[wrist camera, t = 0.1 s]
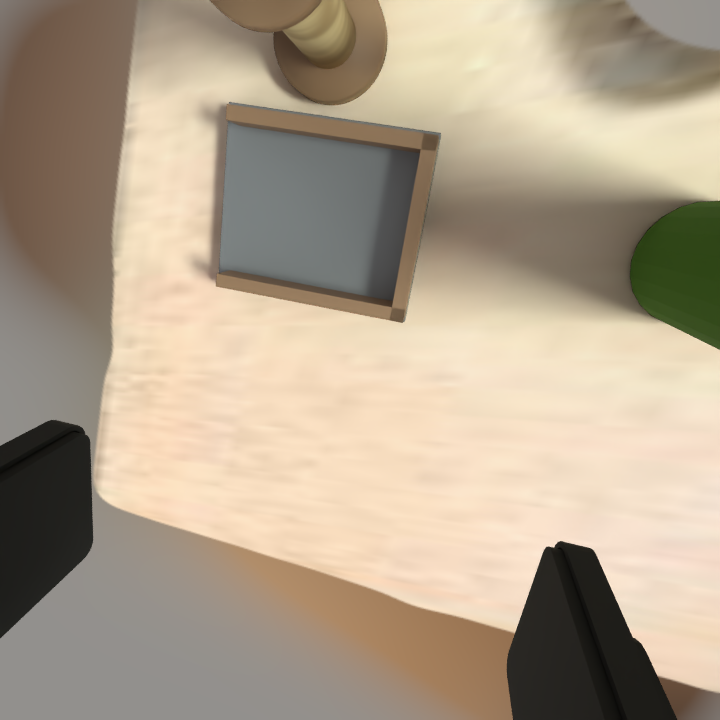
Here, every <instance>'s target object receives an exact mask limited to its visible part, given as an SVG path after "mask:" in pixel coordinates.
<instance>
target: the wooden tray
mask: <svg viewBox="0 0 720 720" xmlns="http://www.w3.org/2000/svg"><path fill="white" fill-rule="evenodd" d="M226 120H228V131H227V147H226V164H225V180H224V197H223V213H222V230H221V246H220V263H219V273H218V274H217V277H216V286H217V287H222V288H227V289H232V290H237V291H242V292H247V293H253V294H258V295H263V296H268V297H273V298H278V299H283V300H288V301H294V302H299V303H304V304H309V305H314V306H319V307H324V308H329V309H334V310H340V311H345V312H350V313H355V314H360V315H365V316H370V317H375V318H381V319H386V320H391V321H396V322H401V323H403V322H404V321H405V318H406V314H407V308H408V303H409V298H410V293H411V288H412V283H413V278H414V272H415V267H416V262H417V257H418V252H419V247H420V241H421V236H422V231H423V226H424V221H425V216H426V210H427V205H428V200H429V195H430V190H431V185H432V179H433V174H434V169H435V164H436V159H437V154H438V148H439V143H440V138H441V133H436V132H429V131H423V130H416V129H409V128H402V127H395V126H389V125H382V124H375V123H368V122H361V121H355V120H348V119H341V118H334V117H327V116H320V115H314V114H307V113H300V112H293V111H286V110H280V109H273V108H266V107H259V106H252V105H246V104H239V103H232V102H229V104H227V108H226Z"/></svg>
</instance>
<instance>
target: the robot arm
mask: <svg viewBox="0 0 720 720" xmlns="http://www.w3.org/2000/svg"><path fill="white" fill-rule="evenodd" d="M92 522H93V521H92V488H91V457H90V439H89V437H88V436H87V435H85V431H84V430H83V428H82V427H80V426H78V425H74V424H69V423H65V422H61V421H57V420H50V421H47V422H45V423H43V424H42V425H39V426H38V427H36V428H34V429H32V430H30V431H28V432H26V433H24V434H22V435H20V436H19V437H16V438H15V439H13V440H11V441H9V442H7V443H5V444H3V445H1V446H0V638H1V637H2V636H3V635H4V634H5V633H6V632H7V631H9V630H10V629H11V628H12V627H13V626H14V625H15V624H16V623H17V622H18V621H19V620H20V619H21V618H22V617H23V616H24V615H25V614H26V613H27V612H29V611H30V610H31V609H32V607H34V606H35V605H36V604H37V603H38V602H39V601H40V600H41V599H42V598H43V597H44V596H45V595H46V594H47V593H48V592H50V591H51V590H52V588H54V587H55V586H56V585H57V584H58V583H59V582H60V581H61V580H62V579H63V578H64V577H65V576H66V575H67V574H68V573H69V572H70V571H72V570H73V569H74V568H75V567H76V566H77V565H78V564H79V563H80V562H81V561H82V560H83V559H84V558H85V557H86V556H87V554H88V553H89V551H90V549H91V547H92V543H93V523H92ZM507 678H508V685H509V693H510V700H511V708H512V715H513V720H677V718H676V716H675V714H674V711H673V709H672V707H671V705H670V703H669V701H668V698H667V696H666V694H665V692H664V690H663V688H662V685H661V683H660V681H659V679H658V677H657V674H656V672H655V670H654V668H653V666H652V663H651V661H650V659H649V657H648V655H647V653H646V651H645V649H644V648H643V646H642V644H641V643H640V642H639V641H637V640H636V639H635V638H633V637H632V635H631V633H630V630H629V628H628V626H627V624H626V621H625V619H624V617H623V614H622V612H621V610H620V608H619V605H618V603H617V601H616V599H615V596H614V594H613V592H612V590H611V587H610V585H609V583H608V581H607V578H606V576H605V574H604V572H603V569H602V567H601V565H600V563H599V560H598V558H597V556H596V554H595V552H594V550H592V549H591V548H587V547H583V546H579V545H575V544H570V543H566V542H562V541H560V542H558V543H557V544H556V545H555V547H554V548H553V547H546V548H545V550H544V552H543V554H542V557H541V560H540V563H539V566H538V569H537V572H536V575H535V578H534V580H533V583H532V586H531V589H530V592H529V595H528V598H527V601H526V604H525V606H524V609H523V612H522V615H521V618H520V621H519V624H518V627H517V630H516V632H515V635H514V638H513V641H512V644H511V647H510V650H509V653H508V659H507Z"/></svg>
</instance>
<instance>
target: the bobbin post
mask: <svg viewBox="0 0 720 720" xmlns="http://www.w3.org/2000/svg"><path fill="white" fill-rule="evenodd" d="M210 1H211V2H212V3H213V4H214V5H215V6H216V7H217V8H218V9H219V10H220V11H221V12H222V13H224V14H225V15H226V16H227V17H228V18H229V19H231V20H232V21H233V22H235V23H237V24H238V25H240V26H242V27H244V28H247V29H250V30H253V31H258V32H274V49H275V54H276V58H277V61H278V64H279V66H280V68H281V70H282V72H283V74H284V76H285V77H286V78H287V80H288V81H289V82H290V83H291V84H292V85H293V86H294V87H295V88H296V89H297V90H298V91H299V92H300V93H302V94H303V95H304V96H306V97H307V98H309V99H310V100H312V101H315V102H317V103H320V104H325V105H339V104H344V103H347V102H350V101H352V100H354V99H356V98H358V97H359V96H361V95H362V94H363V93H364V92H366V91H367V90H368V89H369V88H370V86H371V85H372V84H373V83H374V81H375V80H376V78H377V77H378V75H379V73H380V71H381V69H382V66H383V63H384V60H385V56H386V51H387V29H386V23H385V19H384V16H383V13H382V9H381V7H380V4H379V2H378V0H210Z"/></svg>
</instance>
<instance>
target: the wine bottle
mask: <svg viewBox="0 0 720 720" xmlns="http://www.w3.org/2000/svg"><path fill="white" fill-rule="evenodd" d="M630 279H631V285H632V290H633V293H634V295H635V296H636V298H637V300H638V302H639V304H640V305H641V306H642V307H643V308H644V309H645V310H646V311H647V312H648V313H649V314H650V315H651V316H653V317H655V318H657V319H659V320H661V321H663V322H665V323H667V324H669V325H671V326H673V327H675V328H677V329H679V330H681V331H683V332H685V333H687V334H689V335H691V336H693V337H695V338H697V339H699V340H701V341H703V342H705V343H707V344H709V345H711V346H713V347H715V348H717V349H719V350H720V201H710V202H696V203H693V204H690V205H686V206H683V207H680V208H678V209H676V210H674V211H672V212H671V213H669V214H667V215H665V216H663V217H662V218H661V219H660V220H659V221H657V222H656V223H655V224H654V225H653V226H652V227H651V228H650V229H649V230H648V231H647V232H646V233H645V235H644V236H643V238H642V239H641V240H640V242H639V243H638V245H637V247H636V250H635V252H634V255H633V257H632V260H631V269H630Z"/></svg>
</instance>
